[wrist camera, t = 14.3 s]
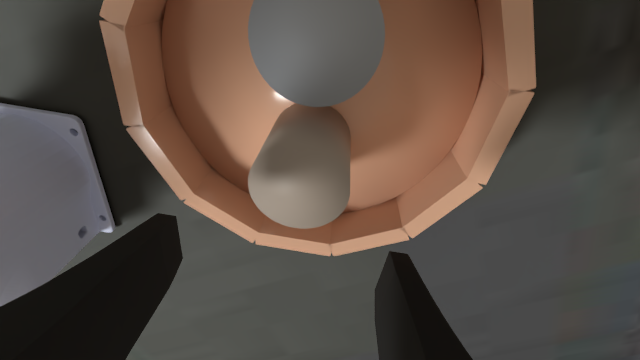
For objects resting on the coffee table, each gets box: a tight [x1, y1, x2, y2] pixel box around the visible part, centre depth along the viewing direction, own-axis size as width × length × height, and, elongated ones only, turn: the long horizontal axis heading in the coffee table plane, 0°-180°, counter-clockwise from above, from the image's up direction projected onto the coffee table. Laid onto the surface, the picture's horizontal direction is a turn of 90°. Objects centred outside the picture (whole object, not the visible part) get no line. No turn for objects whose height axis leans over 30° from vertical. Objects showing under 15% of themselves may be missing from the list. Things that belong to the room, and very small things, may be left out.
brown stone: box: [248, 103, 351, 229], centre depth 15 cm, size 4×4×5 cm
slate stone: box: [248, 0, 385, 107], centre depth 12 cm, size 4×4×5 cm
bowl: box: [99, 0, 536, 256], centre depth 15 cm, size 18×18×4 cm
